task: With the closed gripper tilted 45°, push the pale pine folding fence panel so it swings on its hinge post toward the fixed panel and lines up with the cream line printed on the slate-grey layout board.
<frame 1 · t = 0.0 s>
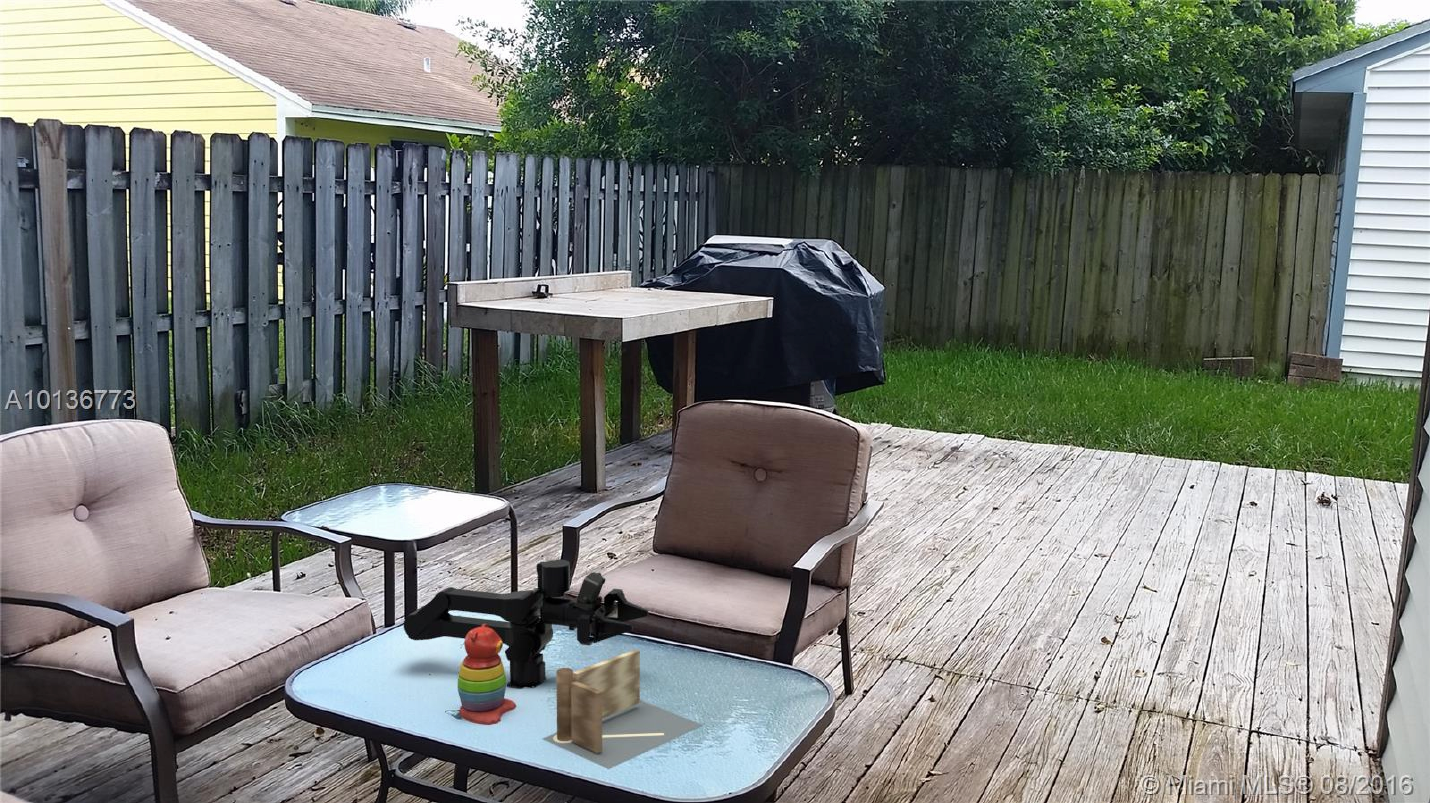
hand: (640, 620, 236), 17 cm above the table, tool horizontal, fingers open, 9 cm apart
stacking bear: (484, 715, 230), on the table
layout board: (624, 734, 221), on the table
folding fence panel: (607, 687, 225), point 7 cm above the table, hinge at 0.0°
fixed fence panel: (565, 738, 218), resting on layout board
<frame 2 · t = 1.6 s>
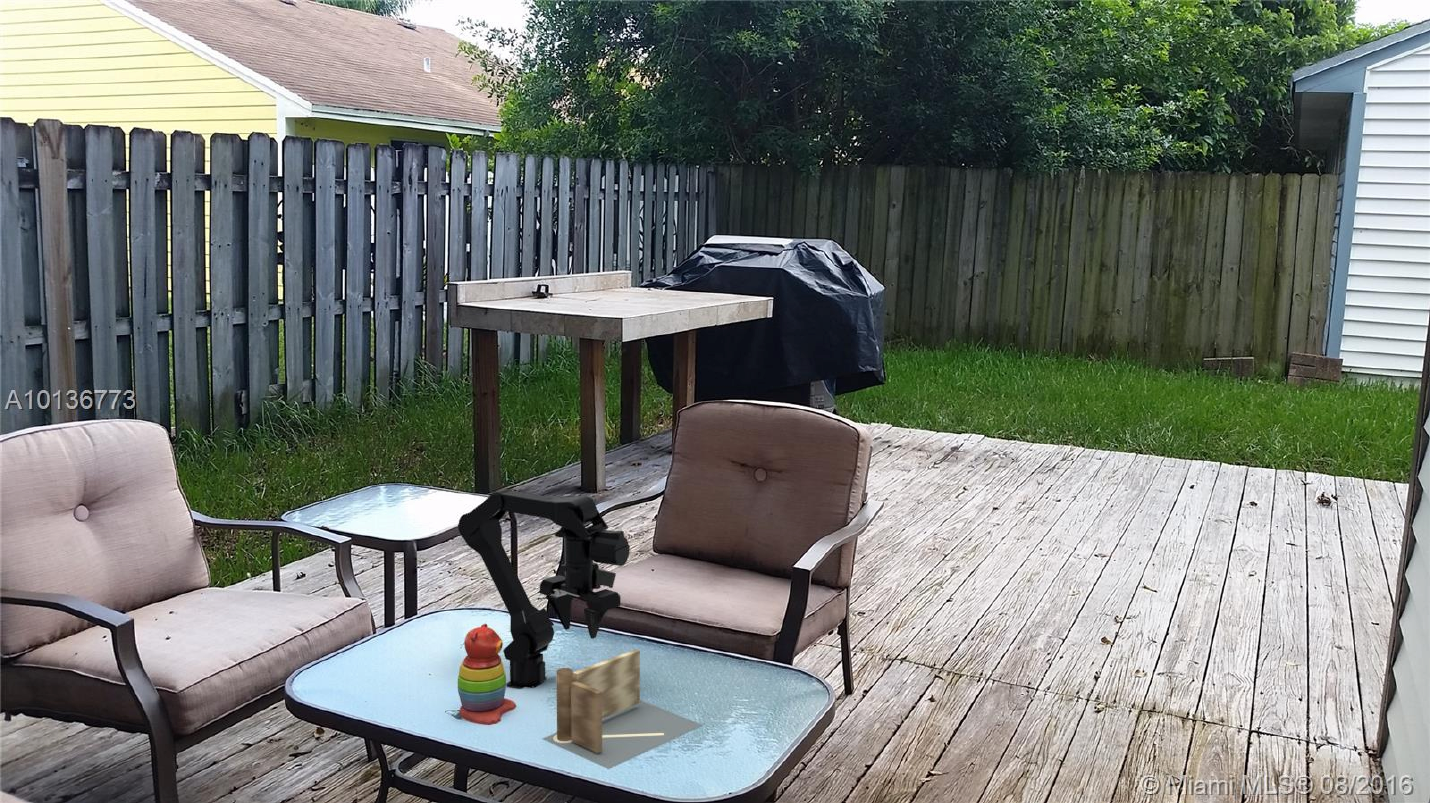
hand: (580, 633, 238), 13 cm above the table, tool pointing down, fingers open, 8 cm apart
nothing on the table moved.
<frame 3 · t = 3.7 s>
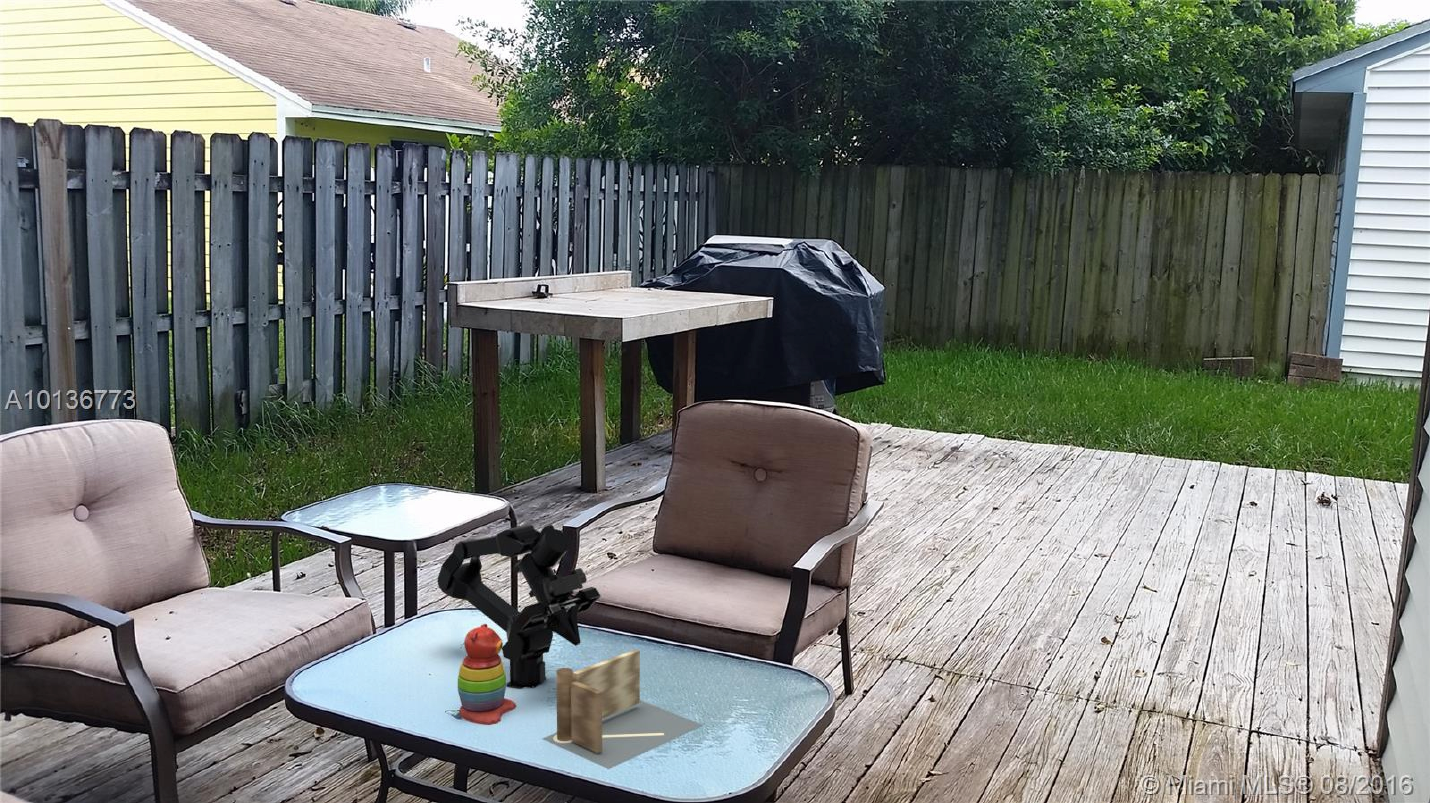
hand: (578, 644, 233), 13 cm above the table, tool tilted 45°, fingers closed
nothing on the table moved.
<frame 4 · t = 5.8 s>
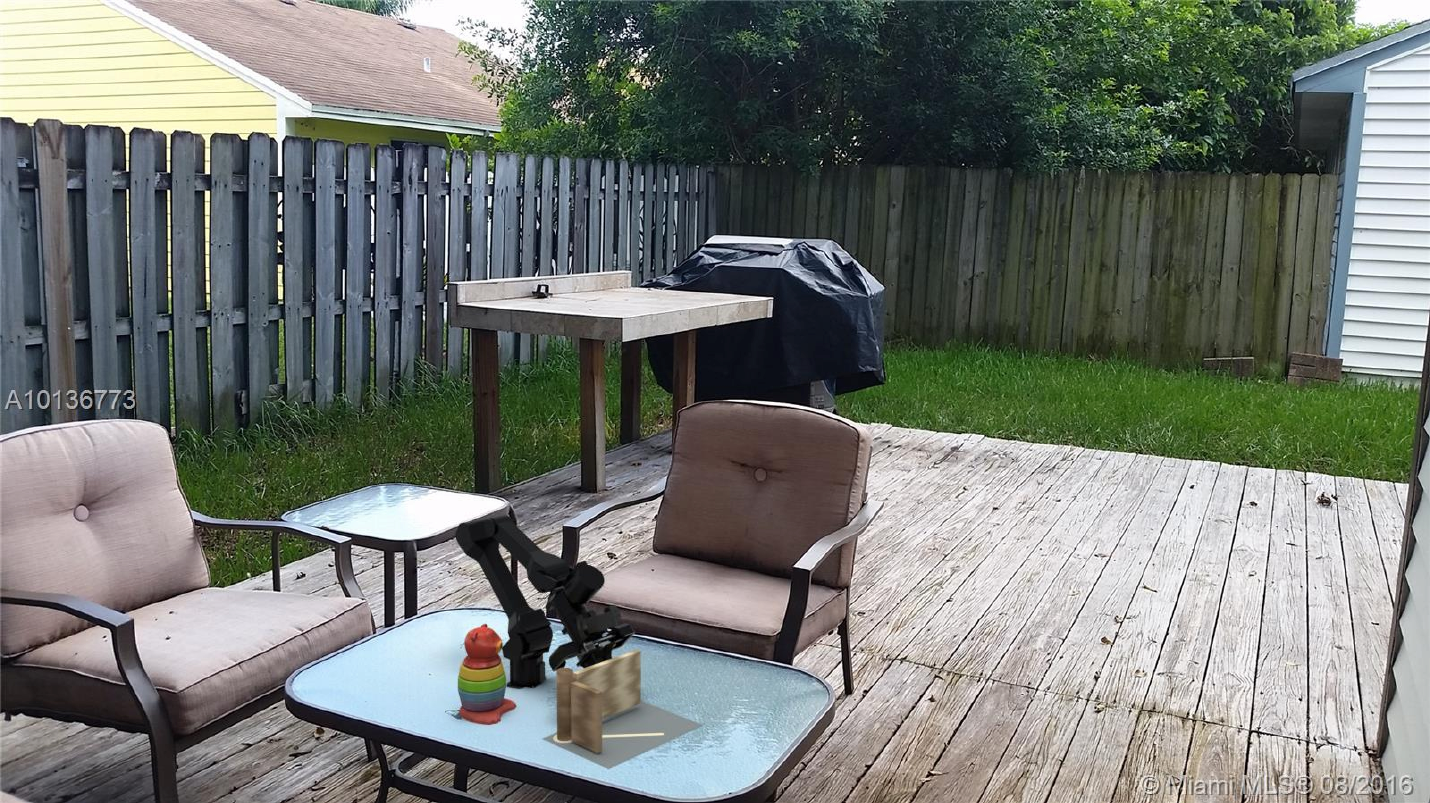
hand: (613, 683, 227), 7 cm above the table, tool tilted 45°, fingers closed, pressing on folding fence panel
folding fence panel: (607, 688, 225), point 7 cm above the table, hinge at 0.9°, touching gripper
everything else where it was.
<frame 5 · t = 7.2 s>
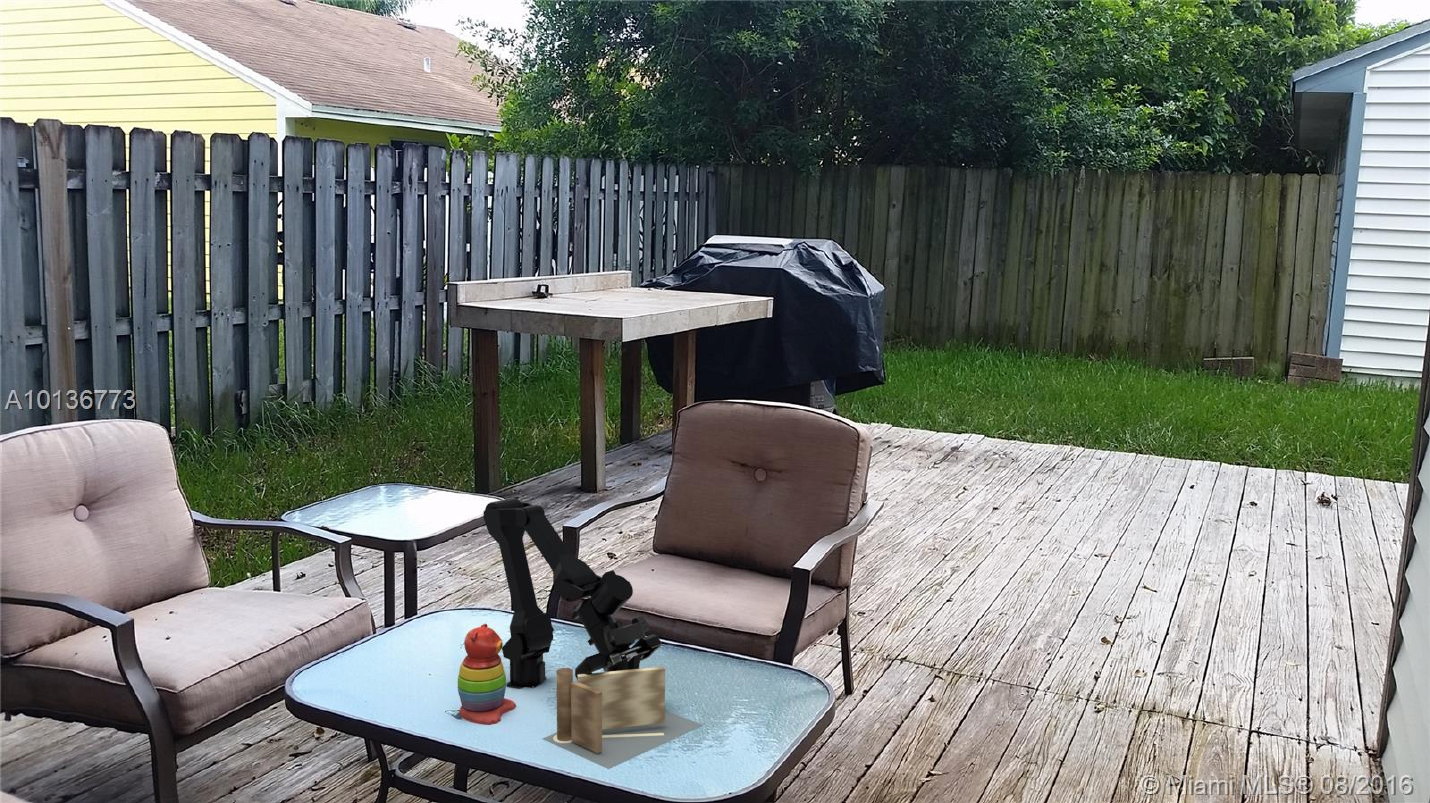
hand: (640, 696, 222), 7 cm above the table, tool tilted 45°, fingers closed
folding fence panel: (621, 698, 220), point 7 cm above the table, hinge at 32.6°, touching gripper
everything else where it was.
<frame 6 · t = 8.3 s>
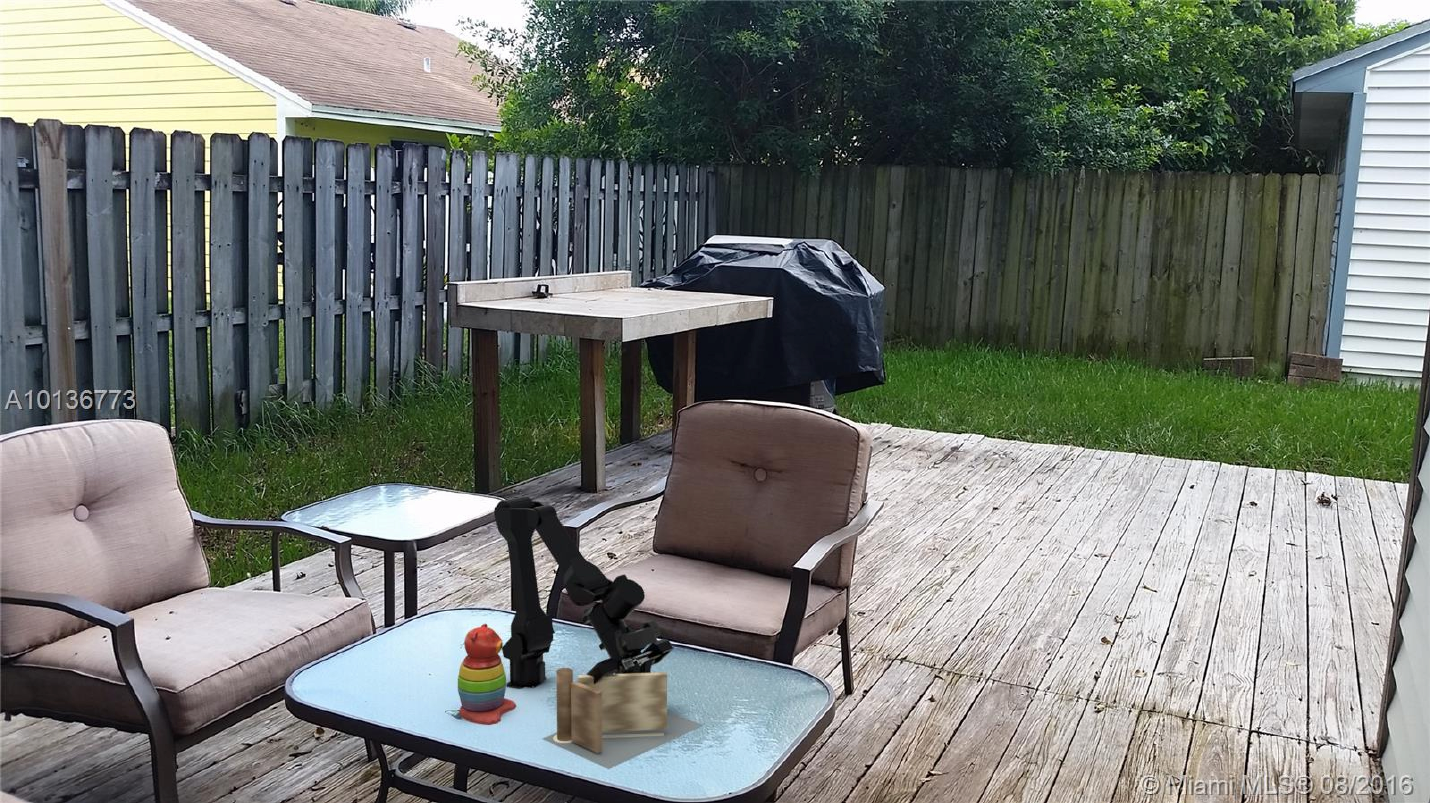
hand: (652, 701, 220), 7 cm above the table, tool tilted 45°, fingers closed
folding fence panel: (622, 702, 218), point 7 cm above the table, hinge at 41.4°, touching gripper
everything else where it was.
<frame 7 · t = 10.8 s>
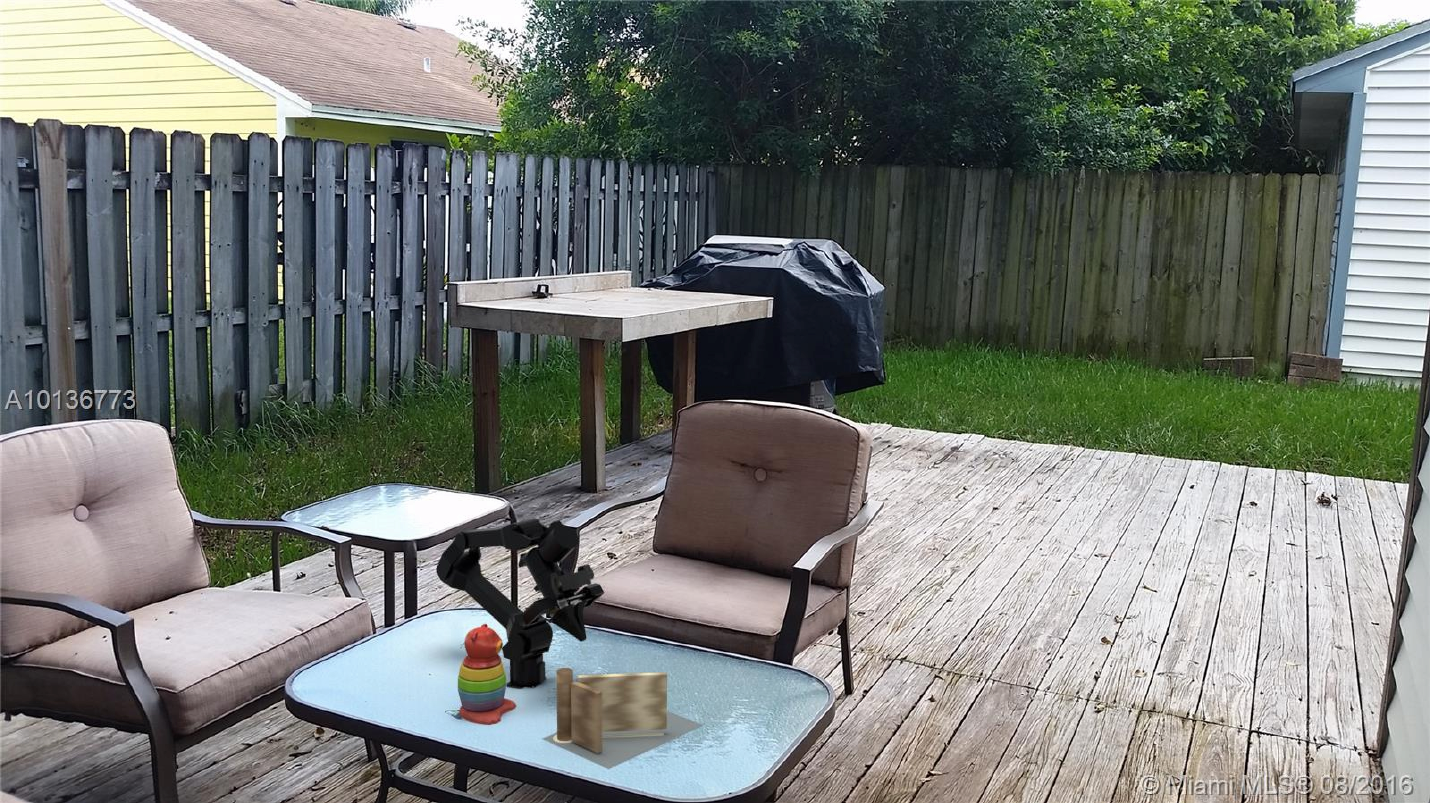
hand: (584, 640, 233), 14 cm above the table, tool tilted 40°, fingers closed
folding fence panel: (622, 702, 218), point 7 cm above the table, hinge at 41.4°
everything else where it was.
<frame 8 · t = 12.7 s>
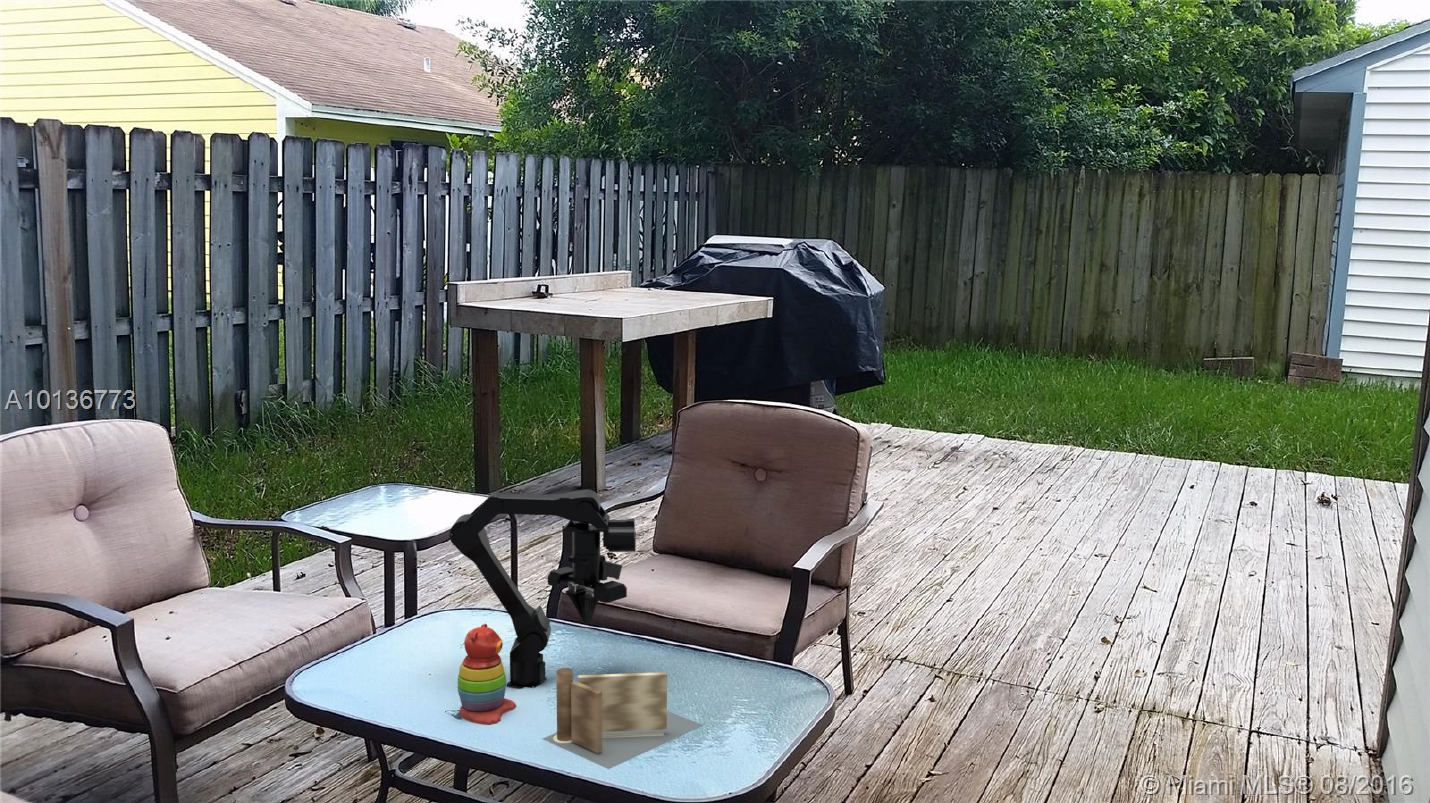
hand: (586, 623, 244), 13 cm above the table, tool pointing down, fingers closed
nothing on the table moved.
at the end: folding fence panel at +41° (first picture: +0°); folding fence panel touching nothing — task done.
